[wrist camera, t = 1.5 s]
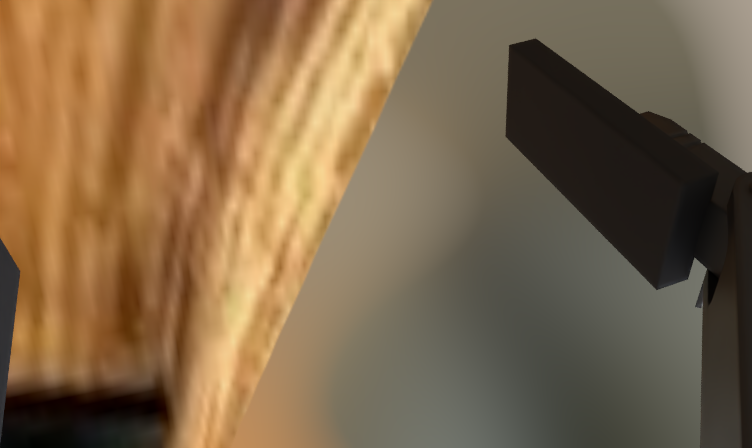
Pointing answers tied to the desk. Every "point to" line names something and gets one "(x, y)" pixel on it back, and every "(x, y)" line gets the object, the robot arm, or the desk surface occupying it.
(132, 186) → the desk surface
